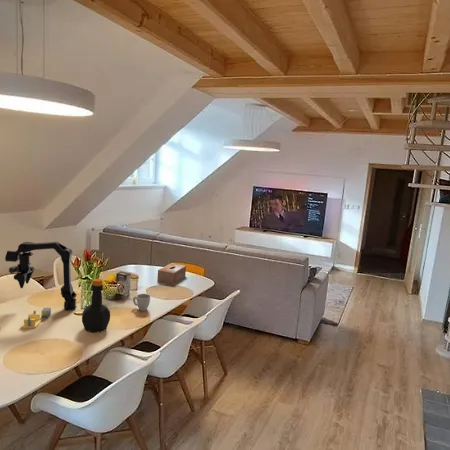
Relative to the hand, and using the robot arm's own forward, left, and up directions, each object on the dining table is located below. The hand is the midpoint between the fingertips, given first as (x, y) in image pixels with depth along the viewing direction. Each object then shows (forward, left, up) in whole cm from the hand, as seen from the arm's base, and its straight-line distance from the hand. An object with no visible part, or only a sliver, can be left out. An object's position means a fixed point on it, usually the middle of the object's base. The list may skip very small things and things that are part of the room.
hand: (24, 285), depth 243 cm
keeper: (-12, +24, -15) cm, 31 cm away
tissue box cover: (-95, -71, -15) cm, 120 cm away
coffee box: (-58, -30, -15) cm, 67 cm away
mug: (-73, -2, -15) cm, 75 cm away
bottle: (-49, +29, -15) cm, 59 cm away
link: (-17, +14, -15) cm, 27 cm away
